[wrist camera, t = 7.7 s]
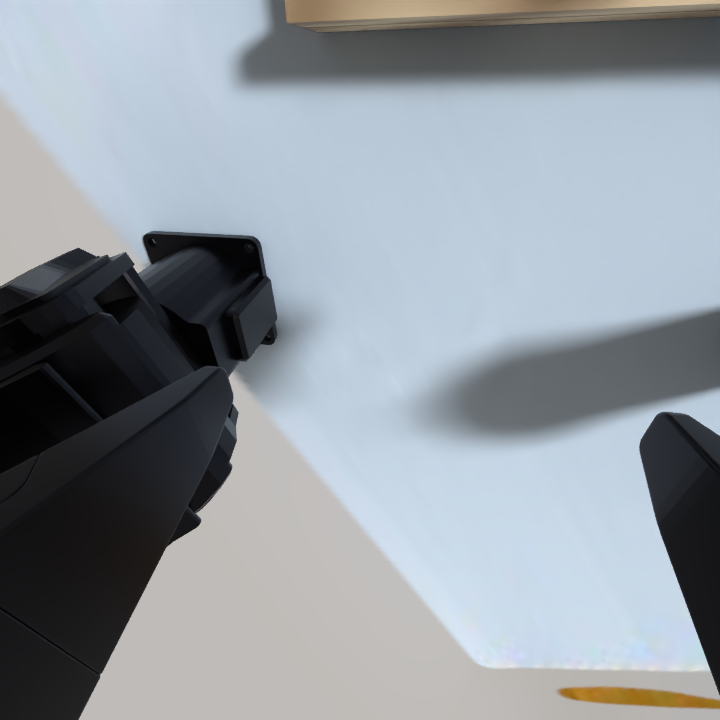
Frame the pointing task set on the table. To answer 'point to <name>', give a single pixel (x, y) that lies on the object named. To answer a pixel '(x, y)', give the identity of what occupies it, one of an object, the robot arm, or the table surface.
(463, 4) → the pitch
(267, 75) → the table surface
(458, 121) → the table surface
